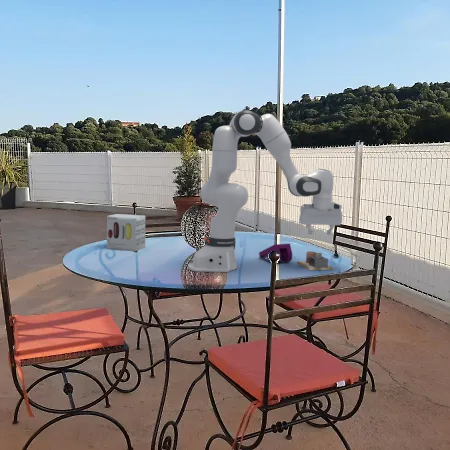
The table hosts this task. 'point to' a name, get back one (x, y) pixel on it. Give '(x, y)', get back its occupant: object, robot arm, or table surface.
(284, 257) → the mounting bracket
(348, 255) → the table surface
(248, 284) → the table surface
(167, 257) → the table surface
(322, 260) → the collar
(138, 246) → the supplement box
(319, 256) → the post board
